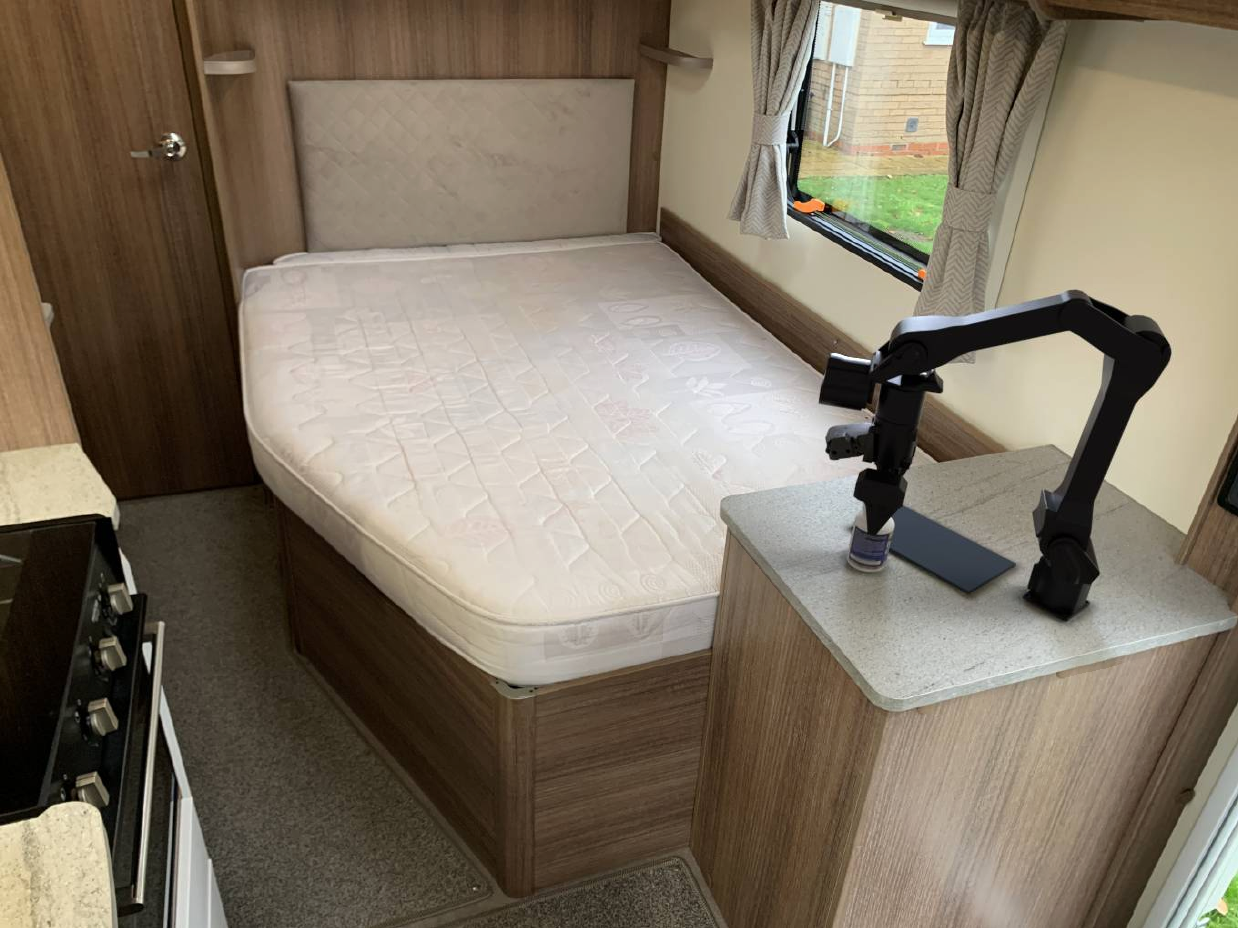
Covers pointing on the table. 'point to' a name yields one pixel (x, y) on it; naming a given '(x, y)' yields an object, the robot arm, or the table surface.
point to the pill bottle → (869, 545)
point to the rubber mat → (944, 552)
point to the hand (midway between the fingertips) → (875, 518)
